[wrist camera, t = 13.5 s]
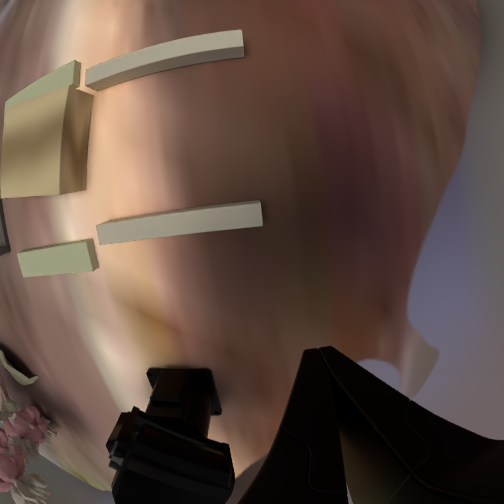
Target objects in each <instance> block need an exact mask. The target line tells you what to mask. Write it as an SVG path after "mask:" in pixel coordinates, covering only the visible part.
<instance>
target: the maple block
mask: <svg viewBox="0 0 504 504" xmlns="http://www.w3.org/2000/svg"><path fill="white" fill-rule="evenodd" d="M93 99H94V96H93V95H91V94H88V93H86V92H83V91H81V90H78V89H75V88H73V87H70V86H67V87H64V88H60V89H57V90H54V91H51V92H48V93H45V94H42V95H39V96H36V97H33V98H30V99H28V100H25V101H23V102H20V103H18V104H15V105H13V106H10V107H8V108H7V109H6V116H5V123H4V130H3V140H2V152H1V176H0V190H1V198H12V197H27V196H45V195H61V194H67V193H72V192H77V191H83V190H86V176H87V154H88V140H89V130H90V121H91V113H92V105H93Z"/></svg>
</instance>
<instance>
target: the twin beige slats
mask: <svg viewBox="0 0 504 504" xmlns="http://www.w3.org/2000/svg"><path fill="white" fill-rule="evenodd" d="M241 57H244V46H243V38H242V30H233V31H224V32H217V33H210V34H204V35H198V36H193V37H188V38H183V39H178V40H174V41H170V42H165V43H162V44H158V45H154V46H150V47H147V48H143V49H140V50H137V51H134V52H131V53H128V54H125V55H122V56H119V57H116V58H113V59H111V60H108V61H106V62H103V63H100V64H98V65H96V66H93V67H91V68H88V69H86V74H85V86H87V87H89V88H91V89H93V90H96V91H99V90H102V89H105V88H108V87H110V86H113V85H116V84H119V83H122V82H125V81H128V80H131V79H135V78H138V77H142V76H145V75H149V74H152V73H156V72H160V71H164V70H169V69H173V68H177V67H182V66H187V65H192V64H198V63H204V62H210V61H216V60H224V59H232V58H241ZM258 226H263V221H262V211H261V202H260V200H255V201H245V202H235V203H226V204H218V205H209V206H201V207H194V208H186V209H179V210H172V211H165V212H158V213H151V214H145V215H138V216H132V217H126V218H120V219H115V220H109V221H106V222H103V223H101V224H98V225H96V229H97V234H98V239H99V244H100V245H105V244H113V243H120V242H127V241H135V240H143V239H151V238H159V237H167V236H175V235H184V234H192V233H201V232H210V231H219V230H229V229H238V228H248V227H258Z"/></svg>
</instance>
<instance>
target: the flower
mask: <svg viewBox="0 0 504 504" xmlns="http://www.w3.org/2000/svg"><path fill="white" fill-rule="evenodd" d="M0 361H1V363H2V365H3V366H4V367H5V368H6V369H7V370H8V371H9V372H10V374H11V375H12V376H13V377H14V379H15V380H16V381H17V382H19V383H20V384H22V385H27V384H32V383H33V382H34V381H35V380H36V379H37V378H38V376H35V377H32V378H30V379H29V378H27V377H26V376H24V375H23V374H22V373H20V372H19V371H17V370H15V369H14V368H13V366H12V365H11V364H10V363H9V362H8V361H7V360H6V358H5V355H4V353H3V351H2V350H0ZM0 386H1V388H2V391H3V393H4V395H5V397H6V399H7V401H6V400H5V399H4V397H3V395H2V394H1V396H2V408H1V409H2V412H3V413H2V412H1V411H0V420H1V421H4V422H3V429H4V430H5V431H6V432H7V434H8V437H9V439H10V441H11V444H7V442H8V438H7V435H6V433H5V431H4V430H3V429H2V428H0V493H1V492H8V491H9V490H10V489H11V493H12V497H13V499H14V501H15V502H16V504H33V503H34V504H36V503H38V501H37V499H36V497H37V498H38V499H39V500H40V501H41V502H44V503H45V504H47V503H46V502H45V501H44V500H42V498H41V496H42V497H43V498H44V499H47V498H45V497H44V496H43V494H42V492H44V493H45V494H47V495H49V494H50V493H48V492H45V491H44V490H42V489H41V488H40V487H43V488H44V487H47V484H46V482H45V481H44V480H43V479H42V478H41V477H40V476H39V475H38V474H30V475H23V473H24V471H25V469H24V468H25V463H24V458H26V462H27V464H28V459H29V458H28V459H27V456H28V455H30V457H32V458H33V460H34V461H35V462H36V461H38V455H39V449H38V446H39V445H40V444H41V443H43V442H44V443H45V444H46V445H50V444H52V443H51V442H50V440H51V439H50V438H49V437H48V436H50V435H54V436H56V435H57V432H55V431H52V430H51V428H49V427H48V424H49V423H51V422H50V421H49V420H47V419H45V418H44V416H43V417H40V412H39V411H38V409H37V408H36V407H35V406H31V405H26V406H25V408H26V410H27V411H28V413H29V414H27V413H26V412H24V411H23V410H21V411H18V409H17V404H16V402H14V401H13V400H11V399H10V398H9V396H8V393H7V390H6V387H5V384H4V381H3V378H2V375H1V371H0ZM17 411H18V412H17ZM14 412H15V413H16V417H15V419H14V426H15V428H14V427H13V426H12V424H11V423H10V421H9V419H8V417H12V415H13V413H14ZM44 433H45V434H47V435H48V436H46V435H45V434H44ZM50 437H51V436H50ZM49 439H50V440H49ZM26 449H27V451H28V455H27V451H26ZM10 450H11V451H12V452H11V451H10ZM22 451H23V452H22ZM23 453H24V456H23ZM7 455H8V456H7ZM31 501H32V502H33V503H32V502H31ZM35 502H36V503H35Z"/></svg>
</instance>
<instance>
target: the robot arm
mask: <svg viewBox="0 0 504 504" xmlns="http://www.w3.org/2000/svg"><path fill="white" fill-rule="evenodd" d="M151 373H152V374H151ZM146 374H147V377H148V379H149V382H150V384H151V386H152V389H153V391H152V394H151V396H150V401H149V404H148V406H147V409H146V412H143V411H141V410H139V408H137V407H135V406H134V407H133V409H132V411H131V412H129V411H128V412H121V415H120V417H119V419H118V421H117V423H116V425H115V427H114V429H113V431H112V433H111V435H110V437H109V439H108V441H107V443H106V447H107V449H108V452H109V454H110V456H109V458H110V459H111V461H110V463H109V467H111V468H113V469H115V470H117V471H116V474H115V476H114V479H113V482H112V485H111V486H112V494H113V497H114V501H115V504H225V503H226V501H227V500H228V499H229V497H230V496H231V494H232V491H233V488H234V483H235V473H234V468H233V463H232V458H231V453H230V448H229V444H226V443H220V442H217V441H214V440H211V439H208V438H207V437H208V430H209V423H210V416H211V415H221V413H222V409H221V405H220V402H219V398H218V395H217V391H216V387H215V383H214V379H213V375H212V372H211V371H210V370H209V369H153V368H150V369H148V370H147V373H146ZM206 374H208V375H206ZM346 483H347V486H348V489H349V492H350V495H351V499H352V502H353V504H504V440H494V439H489V438H486V437H483V436H481V435H478V434H476V433H474V432H471V431H469V430H467V429H465V428H462V427H460V426H458V425H456V424H453V423H451V422H449V421H447V420H445V419H443V418H441V417H439V416H437V415H435V414H433V413H432V412H430V411H428V410H427V409H425V408H423V407H422V406H420V405H418V404H417V403H416V402H414V401H412V400H411V401H410V399H409V398H408V397H406V396H405V395H403V394H402V393H400V392H399V391H397V390H395V389H394V388H392V387H391V386H389V385H388V384H386V383H385V382H383V381H382V380H380V379H379V378H377V377H376V376H375V375H373V374H372V373H370V372H368V371H367V370H366V369H364V368H363V367H361V366H360V365H358V364H357V363H355V362H354V361H352V360H351V359H350V358H348V357H347V356H345V355H344V354H342V353H341V352H339V351H338V350H337V349H335V348H334V347H332V346H327V347H320V348H318V349H317V348H313V349H306V350H304V351H303V354H302V358H301V361H300V365H299V368H298V371H297V375H296V378H295V381H294V384H293V388H292V391H291V394H290V397H289V400H288V403H287V406H286V409H285V412H284V415H283V418H282V421H281V424H280V426H279V429H278V431H277V434H276V437H275V440H274V442H273V444H272V447H271V449H270V451H269V453H268V456H267V458H266V459H265V461H264V463H263V465H262V466H261V468H260V470H259V472H258V473H257V475H256V476H255V478H254V479H253V481H252V483H251V484H250V486H249V487H248V489H247V490H246V492H245V493H244V495H243V496H242V498H241V499H240V500H239V502H238V503H237V504H349V503H348V496H347V486H346Z"/></svg>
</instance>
